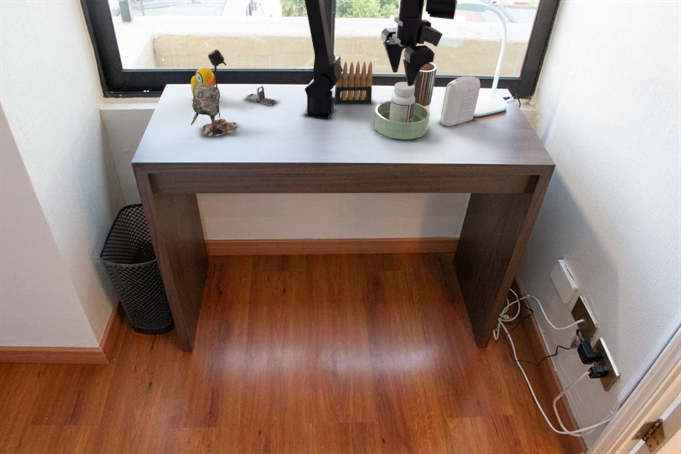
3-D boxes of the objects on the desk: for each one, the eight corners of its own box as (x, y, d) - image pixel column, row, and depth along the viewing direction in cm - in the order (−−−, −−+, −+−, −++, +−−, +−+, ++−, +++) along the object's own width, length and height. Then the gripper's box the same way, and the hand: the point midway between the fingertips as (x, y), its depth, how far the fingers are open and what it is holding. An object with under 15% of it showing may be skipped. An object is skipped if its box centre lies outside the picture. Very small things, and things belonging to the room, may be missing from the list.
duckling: (226, 106, 141) (223, 71, 135) (210, 111, 138) (205, 75, 132) (204, 93, 147) (199, 59, 141) (187, 98, 144) (182, 63, 138)
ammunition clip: (370, 100, 148) (373, 60, 140) (371, 103, 146) (374, 62, 139) (333, 101, 146) (335, 60, 139) (334, 104, 145) (336, 62, 138)
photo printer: (464, 114, 143) (473, 71, 136) (475, 120, 140) (484, 76, 133) (437, 121, 138) (444, 78, 131) (448, 128, 136) (456, 83, 128)
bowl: (369, 136, 130) (370, 118, 127) (379, 114, 141) (381, 97, 138) (423, 145, 128) (426, 127, 124) (429, 121, 138) (432, 104, 135)
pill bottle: (403, 119, 137) (408, 79, 130) (416, 129, 133) (422, 88, 126) (384, 123, 135) (388, 82, 128) (395, 133, 131) (400, 91, 124)
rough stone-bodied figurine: (196, 122, 132) (185, 45, 120) (240, 124, 132) (233, 47, 120) (189, 137, 126) (176, 57, 114) (234, 139, 126) (227, 59, 114)
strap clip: (245, 99, 145) (244, 85, 142) (251, 96, 147) (250, 81, 144) (271, 106, 142) (270, 91, 140) (276, 102, 144) (276, 87, 142)
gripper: (460, 24, 114) (448, 90, 124) (423, 2, 128) (415, 63, 137) (415, 26, 111) (406, 94, 120) (382, 4, 125) (377, 66, 134)
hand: (402, 78), depth 128 cm, fingers open, 9 cm apart
